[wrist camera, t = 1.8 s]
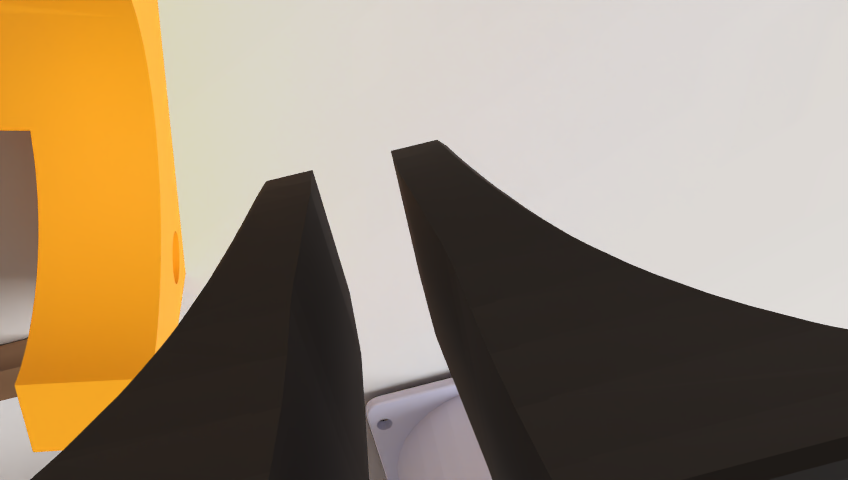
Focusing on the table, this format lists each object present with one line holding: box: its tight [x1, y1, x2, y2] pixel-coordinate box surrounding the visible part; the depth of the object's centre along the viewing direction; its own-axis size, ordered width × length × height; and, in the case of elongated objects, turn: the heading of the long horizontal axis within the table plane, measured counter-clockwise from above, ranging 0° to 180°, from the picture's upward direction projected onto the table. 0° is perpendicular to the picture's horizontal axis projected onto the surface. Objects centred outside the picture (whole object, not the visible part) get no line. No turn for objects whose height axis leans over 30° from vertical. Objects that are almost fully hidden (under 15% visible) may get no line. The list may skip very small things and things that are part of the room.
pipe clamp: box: [0, 0, 185, 452], centre depth 16 cm, size 12×4×6 cm, turn 175°
